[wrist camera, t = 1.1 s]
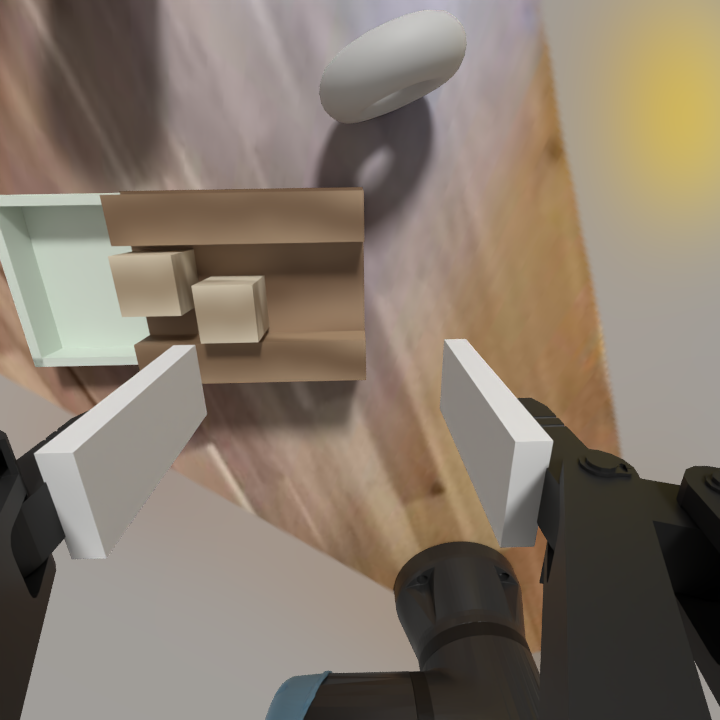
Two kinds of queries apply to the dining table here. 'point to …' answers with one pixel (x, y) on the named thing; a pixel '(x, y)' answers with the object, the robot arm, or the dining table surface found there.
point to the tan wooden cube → (154, 282)
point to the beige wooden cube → (231, 309)
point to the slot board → (260, 257)
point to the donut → (393, 65)
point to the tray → (66, 280)
